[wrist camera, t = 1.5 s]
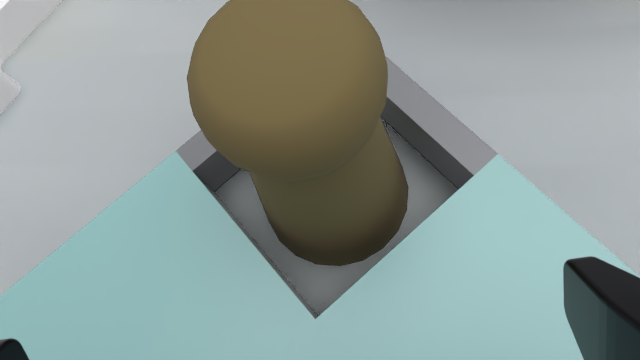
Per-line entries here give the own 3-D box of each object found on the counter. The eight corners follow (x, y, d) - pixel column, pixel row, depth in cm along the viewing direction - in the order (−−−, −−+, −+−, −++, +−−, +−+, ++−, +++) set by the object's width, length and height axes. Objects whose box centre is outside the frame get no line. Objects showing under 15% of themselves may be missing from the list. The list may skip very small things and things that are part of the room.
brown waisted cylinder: (400, 121, 24) (390, -77, 13) (416, 259, 21) (418, 148, 11) (264, 137, 24) (157, -40, 14) (266, 271, 22) (140, 177, 12)
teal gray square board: (290, 825, 16) (269, 899, 14) (11, 329, 23) (-33, 323, 21) (717, 382, 18) (761, 382, 16) (345, 49, 25) (339, 16, 23)
